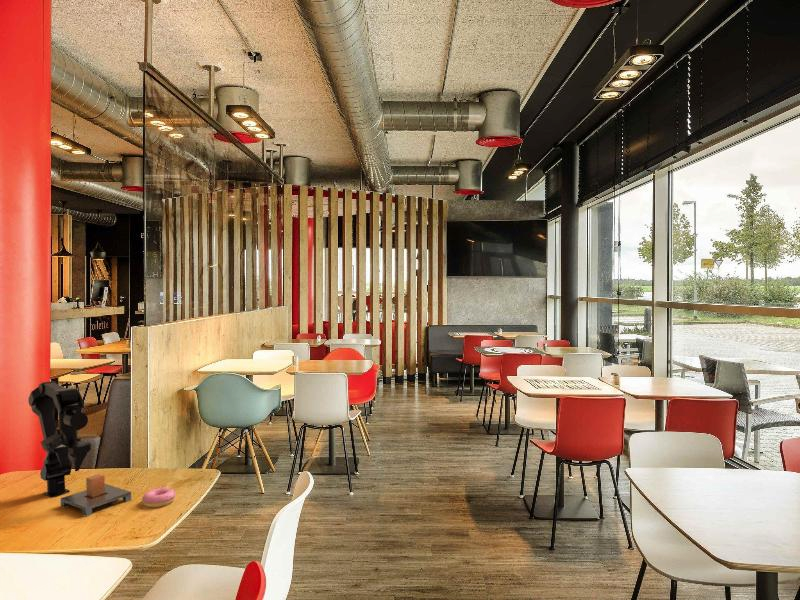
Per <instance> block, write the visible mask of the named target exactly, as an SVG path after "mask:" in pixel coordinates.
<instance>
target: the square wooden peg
mask: <svg viewBox="0 0 800 600" xmlns="http://www.w3.org/2000/svg"><path fill="white" fill-rule="evenodd" d="M85 481H86V482H85V483H86V490H87V498H89V499H94V498H97V497H100V496H103V495H105V484H106V483H105V482H106V480H105V475H103V474H100V473H98V474H94V475H91V476H88V477H85Z"/></svg>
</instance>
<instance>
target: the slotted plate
mask: <svg viewBox="0 0 800 600" xmlns="http://www.w3.org/2000/svg"><path fill="white" fill-rule="evenodd" d="M120 499H122V502H124V501H125V503H127V502H129V501H130V502H131V501H132V491H130V490H127V489H124V488H120V487H117V486H114V485H111V484H107V483H105V495H103V496H100V497H97V498H94V499H89V498H87V489H85V490H82V491H79V492H76V493H72V494H70V495H67V496H64V497H60V508H63V507H65V508H68V507H70V506H73V507H74V508H75V507H76V508H79V509H80V510H82V516H84V515H85V517H88V516H87V515H89V516H91V515H93V509H94V508H96V507H99V506H102V505H105V504H108V503H111V502H114V501H117V500H120ZM67 506H68V507H67ZM90 514H91V515H90Z"/></svg>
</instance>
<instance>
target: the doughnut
mask: <svg viewBox="0 0 800 600" xmlns="http://www.w3.org/2000/svg"><path fill="white" fill-rule="evenodd" d="M175 499H176V491H175V489H172V488H171V487H158V488H154V489H151V490H148V491H146V492H145V493H144V494H143V495H142V499H141V500H142V504H143V506H145V507H148V508H160V507H164V506H167V504H168V505H169V504H171V503H173V502H174V501H175Z"/></svg>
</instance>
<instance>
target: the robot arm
mask: <svg viewBox="0 0 800 600" xmlns="http://www.w3.org/2000/svg"><path fill="white" fill-rule="evenodd" d="M28 405H29V406H30V408H31V411H32V413H34V414H35V415H36V416H37V417H38V420H39V424H40V429H41V432H42V433H41V434H42V437H43V438H42V439H43V440H42V441H40V445H41V447H42V449H43V451H44V452H45V451H46V454H45V456H44V459H43V461H42V462H43V463H42V467H41V469H40V472H39V474H40V479H41V480H43V481H44V482H46V491H44V492H42V494H43V495H45V496H47V497H50V498H53V497H56V496H57V497H58V496H61V495H63V494H66V493H69V492H70V491H71V490H70V489H67V488H66V477H65V476H69V475H70V476H71V473H72V466H73V468H74V471H75V472H79V471H80V469H81V467H82V465H83V463H84V460H85V458H86V456H87V454H88V453H90V451H92V444H91V443H90V442H89V441H84V440H82V441H81V437H79V433H78V432H79V430H82V429H84V428H85V427H86V426H87V424H88V422H89V418H88V416H87V414H86V413H85V412H84V413H83V412H82V409H84V408H85V400H84V398H83V396H82V394H81V393H80V391H79V390H78V389H77V388H76V387H75V388H73V387H70V388H69V387H68V388H67V387H66V388H65V387H63V386H62V385H60V384H58V383H57V381H54V380H52V381H44V382H40V383H39V384H38V386H37V387H36V388H34V389H33V390H31V391H30V394H29V396H28ZM55 408H56V410H57V412H58V413H57V415H58V416H57V417H58V418H57V419H58V428H57V424H56V420H55V416H54V410H55ZM70 457H71V458H72V460H71V458H70Z"/></svg>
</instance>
